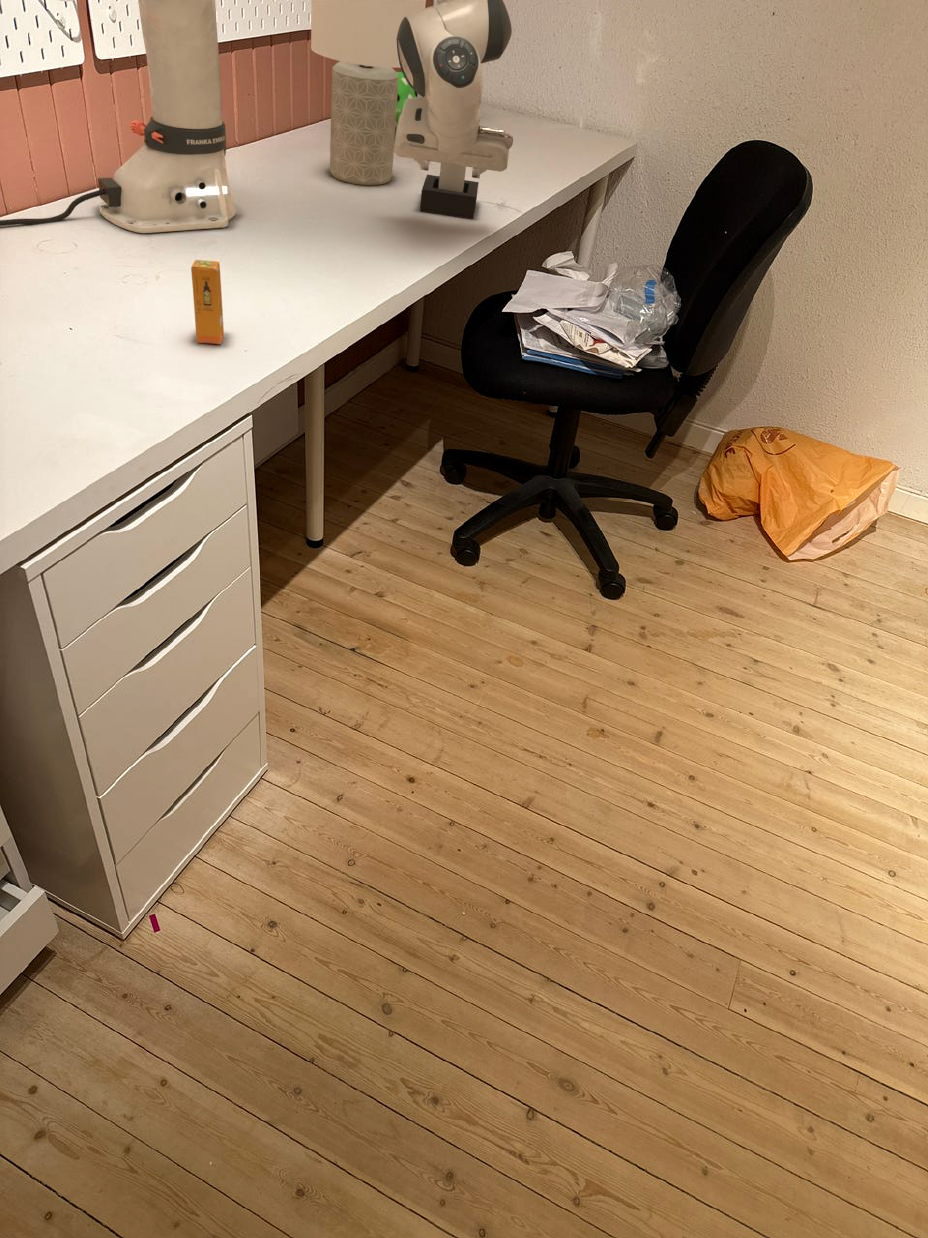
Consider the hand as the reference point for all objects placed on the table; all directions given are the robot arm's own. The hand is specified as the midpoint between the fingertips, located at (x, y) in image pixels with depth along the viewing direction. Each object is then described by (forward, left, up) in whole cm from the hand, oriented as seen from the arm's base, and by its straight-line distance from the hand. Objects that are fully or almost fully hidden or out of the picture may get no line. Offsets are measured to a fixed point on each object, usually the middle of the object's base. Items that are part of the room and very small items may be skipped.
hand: (450, 170), depth 168 cm
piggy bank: (+24, +47, -9) cm, 53 cm away
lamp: (+1, +27, -8) cm, 28 cm away
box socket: (+5, +5, -8) cm, 11 cm away
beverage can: (+5, +4, -8) cm, 10 cm away
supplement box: (-66, -24, -9) cm, 71 cm away
